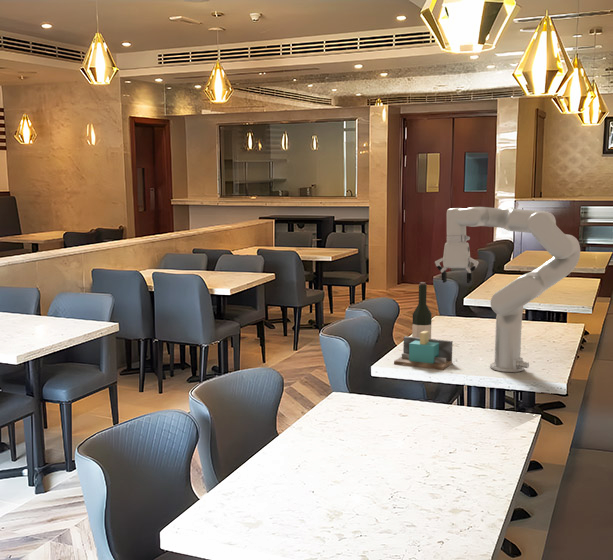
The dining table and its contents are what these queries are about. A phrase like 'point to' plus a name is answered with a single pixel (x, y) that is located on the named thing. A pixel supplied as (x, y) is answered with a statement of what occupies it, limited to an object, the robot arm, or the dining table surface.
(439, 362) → the wall board
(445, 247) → the robot arm
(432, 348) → the teal block
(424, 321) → the wine bottle
